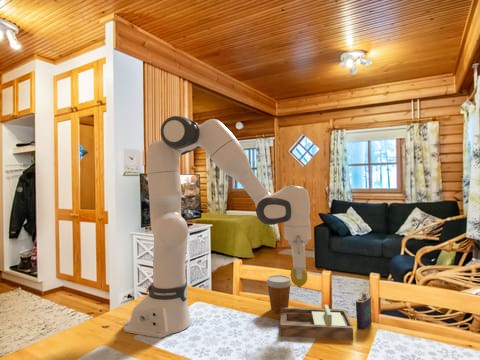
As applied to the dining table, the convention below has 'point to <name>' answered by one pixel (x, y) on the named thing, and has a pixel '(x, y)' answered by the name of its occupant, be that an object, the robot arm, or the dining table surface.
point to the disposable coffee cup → (278, 292)
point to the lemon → (298, 281)
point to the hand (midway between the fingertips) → (298, 275)
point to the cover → (328, 317)
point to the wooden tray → (312, 325)
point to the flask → (363, 311)
